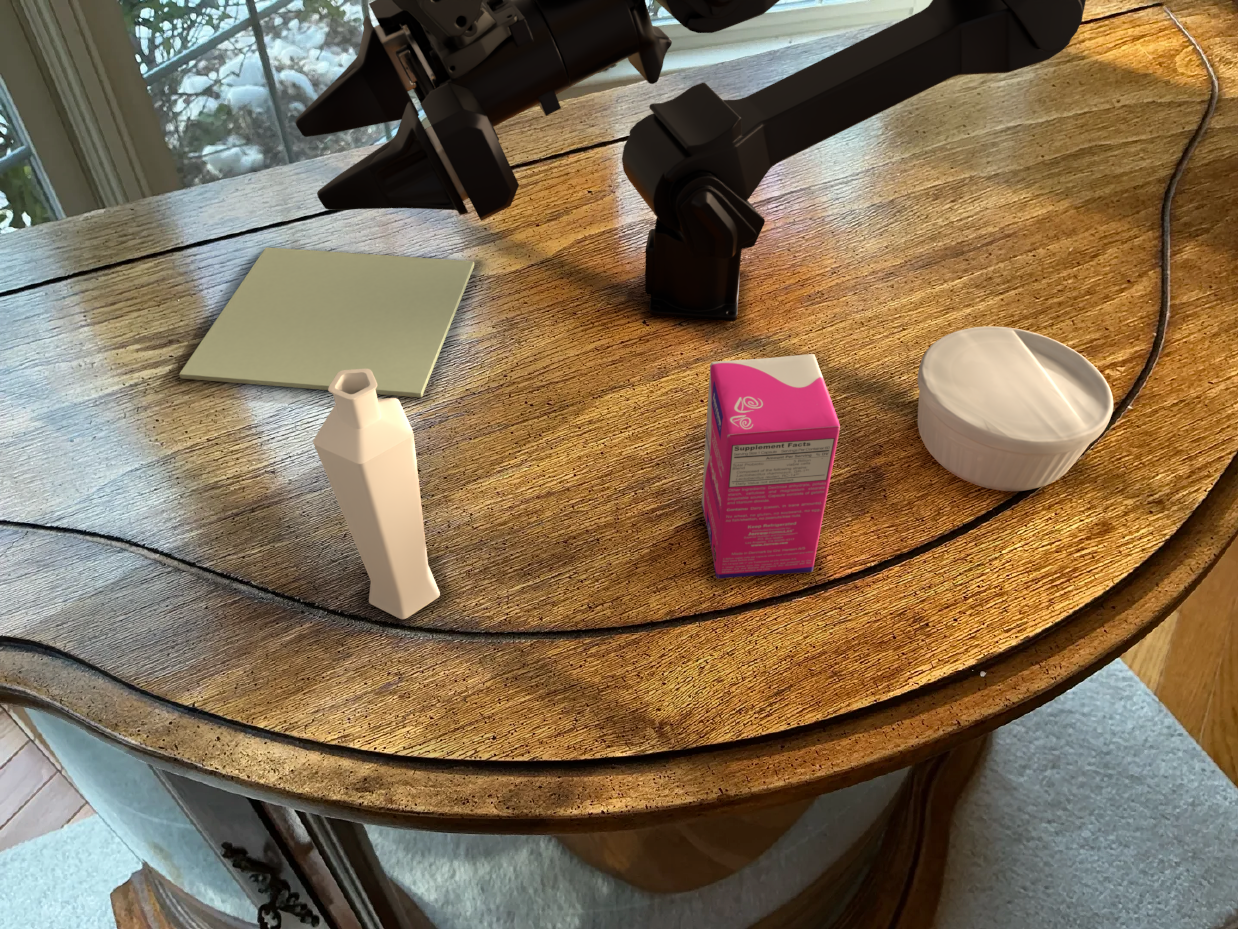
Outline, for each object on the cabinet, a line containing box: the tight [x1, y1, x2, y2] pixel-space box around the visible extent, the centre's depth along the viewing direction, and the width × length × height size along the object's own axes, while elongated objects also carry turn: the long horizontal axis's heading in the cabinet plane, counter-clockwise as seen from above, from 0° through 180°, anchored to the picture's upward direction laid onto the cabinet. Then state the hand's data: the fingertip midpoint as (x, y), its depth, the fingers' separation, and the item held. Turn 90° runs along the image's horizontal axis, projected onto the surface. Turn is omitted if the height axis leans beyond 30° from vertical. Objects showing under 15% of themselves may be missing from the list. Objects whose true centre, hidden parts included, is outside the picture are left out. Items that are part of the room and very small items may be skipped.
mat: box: [178, 247, 475, 398], centre depth 72 cm, size 17×16×1 cm
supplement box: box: [701, 353, 841, 580], centre depth 53 cm, size 6×6×12 cm
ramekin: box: [917, 325, 1114, 492], centre depth 61 cm, size 11×11×5 cm
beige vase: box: [312, 369, 441, 620], centre depth 49 cm, size 5×4×15 cm
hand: (309, 163), depth 57 cm, fingers open, 9 cm apart
